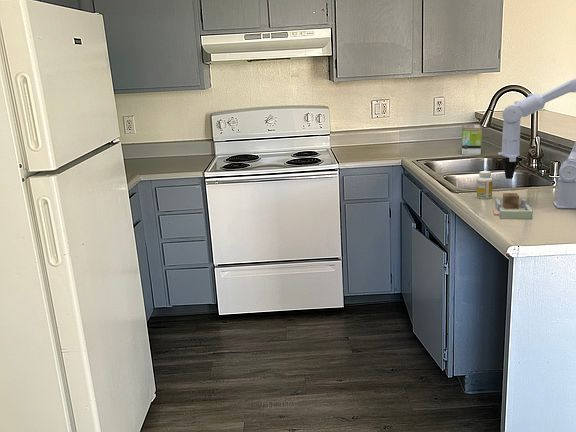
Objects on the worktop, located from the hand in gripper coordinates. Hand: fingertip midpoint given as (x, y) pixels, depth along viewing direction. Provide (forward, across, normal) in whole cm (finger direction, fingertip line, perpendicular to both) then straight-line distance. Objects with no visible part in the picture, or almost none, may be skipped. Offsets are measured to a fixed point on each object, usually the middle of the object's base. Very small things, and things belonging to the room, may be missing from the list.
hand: (509, 178), depth 199 cm
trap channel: (+9, +12, 0) cm, 15 cm away
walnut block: (+9, +7, 0) cm, 11 cm away
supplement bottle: (+9, -7, -7) cm, 14 cm away
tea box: (+9, -110, -6) cm, 111 cm away
